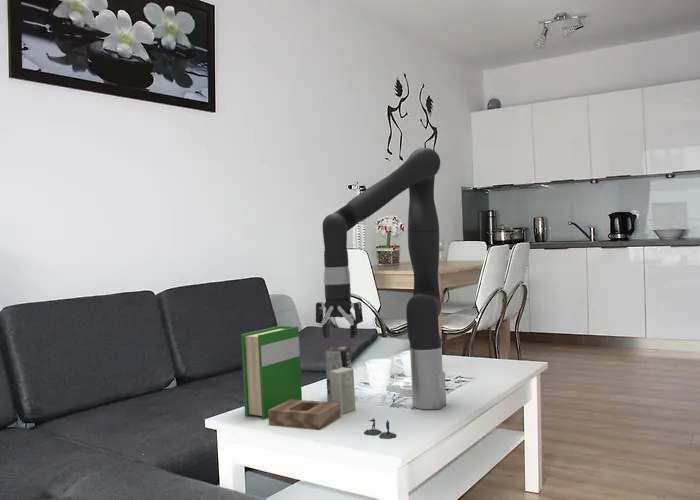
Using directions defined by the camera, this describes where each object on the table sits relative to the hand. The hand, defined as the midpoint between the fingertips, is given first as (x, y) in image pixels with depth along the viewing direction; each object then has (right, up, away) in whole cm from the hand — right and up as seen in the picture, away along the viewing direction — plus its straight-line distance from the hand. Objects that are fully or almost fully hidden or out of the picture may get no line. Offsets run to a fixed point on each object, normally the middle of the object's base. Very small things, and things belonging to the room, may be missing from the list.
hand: (339, 337), depth 182 cm
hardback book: (-20, -23, +5) cm, 30 cm away
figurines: (+11, -22, -23) cm, 34 cm away
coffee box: (0, -22, +14) cm, 26 cm away
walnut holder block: (-10, -22, -8) cm, 25 cm away
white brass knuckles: (+24, -21, +20) cm, 38 cm away
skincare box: (+1, -22, 0) cm, 22 cm away
